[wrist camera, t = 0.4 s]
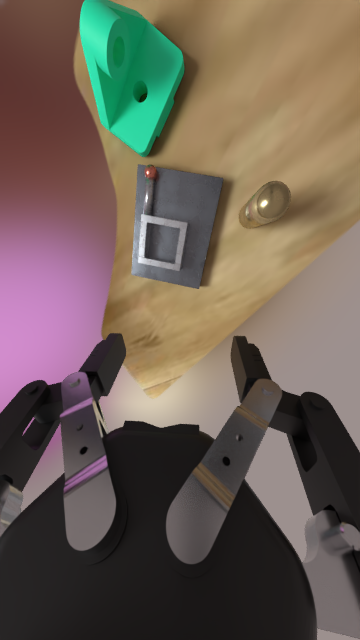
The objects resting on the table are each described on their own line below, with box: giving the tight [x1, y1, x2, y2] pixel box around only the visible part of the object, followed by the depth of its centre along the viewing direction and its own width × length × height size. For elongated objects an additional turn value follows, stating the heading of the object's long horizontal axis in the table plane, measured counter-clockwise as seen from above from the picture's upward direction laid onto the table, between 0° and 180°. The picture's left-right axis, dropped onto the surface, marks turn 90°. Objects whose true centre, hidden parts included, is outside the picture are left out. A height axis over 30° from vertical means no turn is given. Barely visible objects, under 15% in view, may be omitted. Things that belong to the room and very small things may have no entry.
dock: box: [132, 164, 223, 289], centre depth 32 cm, size 18×14×4 cm
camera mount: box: [80, 0, 185, 157], centre depth 23 cm, size 12×8×10 cm, turn 146°
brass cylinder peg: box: [239, 181, 291, 228], centre depth 26 cm, size 4×4×13 cm
